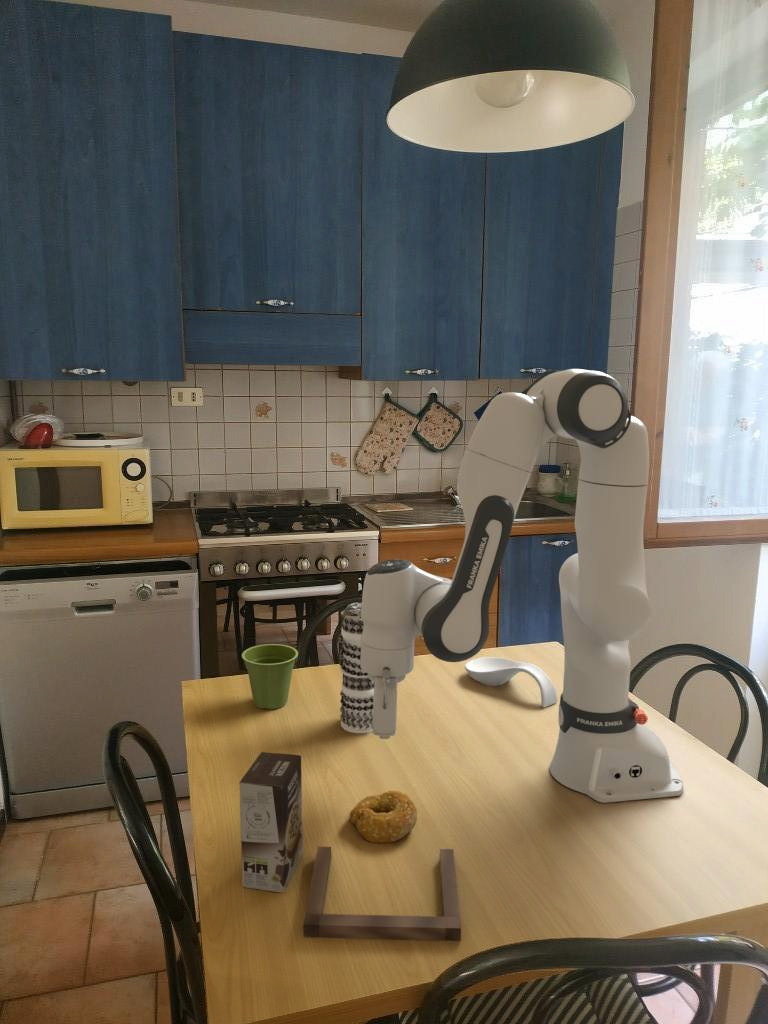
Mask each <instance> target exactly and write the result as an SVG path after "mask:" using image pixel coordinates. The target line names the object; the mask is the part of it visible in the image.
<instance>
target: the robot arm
mask: <svg viewBox="0 0 768 1024" xmlns="http://www.w3.org/2000/svg"><path fill="white" fill-rule="evenodd" d="M554 437H558V438H561V439H565V440H575V442H576V443H577V445H578V449H579V455H580V465H579V473H578V481H577V483H578V484H577V492H576V502H575V515H574V529H575V534H576V535H575V536H576V544H577V545H576V546H577V553H574V554H572V555H571V556H569V557H568V558H567V559H566V560H564V562H563V563H562V565H561V567H560V569H559V573H558V583H559V584H558V585H559V590H560V611H561V614H560V615H561V624H562V625H561V626H562V639H563V645H564V646H563V650H564V651H563V652H564V657H563V658H564V663H563V664H564V665H563V666H564V667H563V681H562V683H563V684H562V685H563V687H562V692H561V694H560V696H559V697H560V698H559V699H560V700H559V704H558V716H557V717H558V718H557V719H558V727H559V732H558V738H557V743H556V745H555V746H556V747H555V750H554V753H553V757H552V759H551V762H550V764H549V772H550V774H551V776H552V777H553V778H554V779H555V780H556V781H557V782H558V783H559V784H561V785H563V786H564V787H567V788H569V789H571V790H573V791H576V792H579V793H581V794H584V795H587V796H588V797H590V798H591V799H593V800H595V801H596V802H599V803H603V804H605V803H606V804H607V803H616V802H627V801H635V800H636V801H637V800H646V799H658V798H668V797H669V798H670V797H676V796H677V797H678V796H681V795H682V794H683V791H684V782H683V778H682V774H680V771H679V770H678V769H677V767H676V766H675V765H674V763H673V762H672V761H671V760H670V758H669V757H670V756H669V754H668V750H667V748H666V746H665V744H664V742H663V741H662V739H660V737H659V736H658V735H657V734H656V733H655V732H654V731H653V730H651V729H650V728H649V727H647V726H646V725H645V724H646V723H648V720H649V718H648V716H647V714H646V713H645V711H644V710H643V709H640V708H639V705H638V704H637V703H636V702H634V701H633V699H631V697H630V696H629V695H630V694H629V691H630V677H631V655H630V652H629V651H630V650H629V648H628V641H630V640H633V639H635V638H636V637H638V636H640V635H641V634H642V633H643V632H644V630H645V629H646V628H647V627H648V624H649V622H650V620H651V617H652V607H651V603H650V599H649V595H648V590H647V577H646V576H647V574H646V561H645V560H646V558H645V548H644V524H645V523H644V522H645V515H646V505H647V504H646V503H647V494H648V484H649V476H650V473H649V471H650V449H649V445H650V444H649V434H648V430H647V426H646V425H645V424H644V423H643V421H641V420H640V419H638V418H637V417H635V416H633V415H632V414H631V411H630V409H629V404H628V399H627V395H626V393H625V391H624V389H623V387H622V386H621V384H620V383H619V381H617V380H616V379H615V378H613V376H610V375H609V374H607V373H605V372H603V371H598V370H588V369H582V368H570V369H565V370H551V371H549V372H547V373H544V374H542V375H540V376H539V377H538V378H536V379H535V380H534V381H533V382H532V383H531V384H530V385H529V386H528V387H527V388H525V389H524V390H523V391H522V392H514V391H513V392H512V391H511V392H502V393H500V394H497V395H495V396H494V397H493V398H492V399H491V400H490V402H489V403H488V405H487V406H486V408H485V410H484V411H483V413H482V415H481V417H480V418H479V421H478V422H477V424H476V426H475V428H474V430H473V433H472V435H471V437H470V439H469V442H468V444H467V447H466V448H465V451H464V454H463V457H462V460H461V463H460V466H459V469H458V470H459V471H458V475H457V483H456V492H457V496H458V500H459V502H460V504H461V508H462V512H463V518H464V522H465V523H464V524H465V526H464V527H465V533H464V541H463V543H462V544H463V545H462V548H461V551H460V554H459V556H458V557H459V558H458V561H457V563H456V566H455V569H454V573H453V575H452V578H451V579H450V578H448V577H443V576H439V575H436V574H432V573H429V572H427V571H425V570H423V569H420V568H419V567H417V565H415V564H413V562H412V561H410V560H407V559H403V558H402V559H399V558H393V559H385V560H382V561H380V562H377V563H375V564H373V565H372V566H371V567H370V568H369V569H368V570H367V572H366V574H365V578H364V581H363V587H362V597H361V602H362V619H363V623H364V628H363V632H362V635H361V655H360V667H361V669H362V670H363V671H364V672H366V673H368V678H369V679H370V680H372V681H374V682H375V684H374V696H373V724H372V729H373V732H372V733H373V735H375V736H378V737H379V739H382V740H389V739H390V738H391V737H393V736H395V735H396V731H397V710H398V709H397V708H398V705H397V704H398V684H399V683H401V682H402V681H404V680H405V679H406V675H408V674H410V673H412V671H413V670H414V664H415V663H414V661H415V639H416V638H417V637H422V638H423V641H424V644H425V646H426V649H427V650H428V652H430V654H431V655H432V656H434V657H435V658H436V659H438V660H440V661H444V662H447V663H461V662H464V661H467V660H469V659H471V658H473V657H474V656H476V655H477V654H478V653H480V651H481V650H482V649H483V647H485V645H486V643H487V641H488V638H489V634H490V616H489V615H490V604H491V603H490V602H491V598H492V595H493V591H494V588H495V585H496V582H497V579H498V575H499V573H500V569H501V566H502V562H503V559H504V557H505V553H506V551H507V546H508V544H509V540H510V537H511V532H512V529H513V525H514V522H515V519H516V516H517V512H518V510H519V505H520V504H521V500H522V498H523V495H524V493H525V490H526V487H527V484H528V482H529V479H530V477H531V475H532V472H533V469H534V467H535V463H536V461H537V458H538V455H539V454H540V452H541V451H542V449H543V447H544V446H545V445H546V444H547V443H548V441H549V440H550V439H552V438H554Z"/></svg>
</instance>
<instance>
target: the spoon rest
mask: <svg viewBox="0 0 768 1024" xmlns="http://www.w3.org/2000/svg"><path fill="white" fill-rule="evenodd" d="M464 669H465V671H466V673H467V674H468V676H470V677H471V678H472V679H474V680H475V681H478V682H479V683H480V684H483V685H486V686H491V687H494V686H495V687H496V686H502V685H504V684H505V683H506V682H508V681H510V680H511V679H512V678H514V677H515V676H516V675H517V674H519V673H521V672H523V673H527V674H528V675H529V676H531V677H532V678H533V679H534V680H535V681H536V683H537V685H538V687H539V690H540V699H541V701H540V702H541V704H540V705H541V707H542V708H543V709H544V708H546V707H549V706H552V705H554V704H556V703H557V702H558V694H557V690H556V687H555V685H554V683H553V682H552V680H551V679H550V677H549V676H548V675H547V674H546V673H545V671H544V670H542V669H541V668H540V667H538V666H537V665H535V664H533V663H529V662H525V661H523V662H522V661H517V660H513V659H509V658H506V657H498V656H483V657H478V658H475V659H474V658H473V659H472V660H471V659H470V660H469V661H468V662H466V663H465V664H464Z"/></svg>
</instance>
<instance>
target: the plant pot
mask: <svg viewBox="0 0 768 1024" xmlns="http://www.w3.org/2000/svg"><path fill="white" fill-rule="evenodd" d="M298 655H299V652H298V650H297V649H296V648H294V647H292V646H290V645H286V644H279V643H278V644H277V643H269V644H268V643H267V644H259V645H254V646H250V647H249V648H247V649H245V650H244V651H243V652H242V653H241V658H242V659H243V661H244V662H245V663H244V664H245V668H246V670H247V673H248V674H247V675H248V679H249V685H250V690H251V691H250V692H251V697H252V701H253V705H254V706H255V707H256V708H258V709H268V710H275V709H279V708H282V707H284V706H285V705H286V704H287V703H288V701H289V694H290V688H291V687H290V686H291V682H292V674H293V668H294V666H295V662H296V659H297V657H298Z"/></svg>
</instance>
